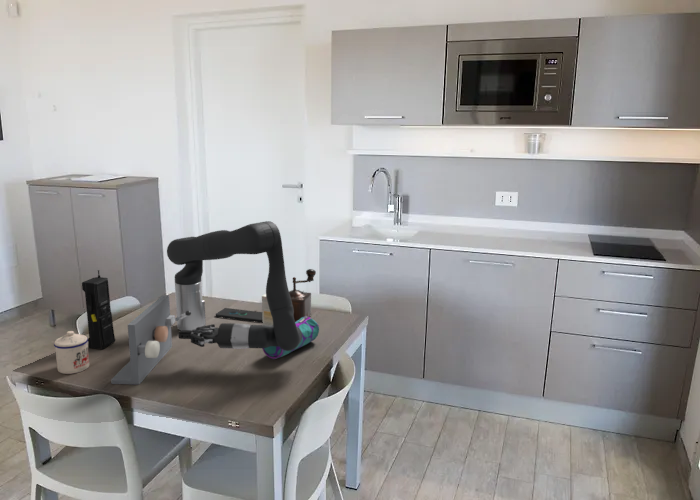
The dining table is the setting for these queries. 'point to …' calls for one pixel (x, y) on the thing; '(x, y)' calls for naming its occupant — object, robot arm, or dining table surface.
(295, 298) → the manual coffee grinder
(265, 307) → the supplement box
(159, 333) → the terracotta button
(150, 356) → the cream button
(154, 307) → the control panel
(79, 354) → the teacup with lid
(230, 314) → the smart home device
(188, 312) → the toggle lever
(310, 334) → the pencil case
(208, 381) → the dining table surface
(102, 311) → the portable radio
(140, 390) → the dining table surface
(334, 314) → the dining table surface
